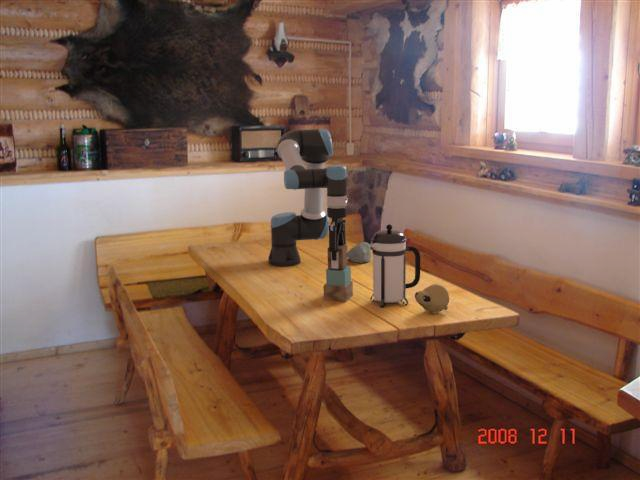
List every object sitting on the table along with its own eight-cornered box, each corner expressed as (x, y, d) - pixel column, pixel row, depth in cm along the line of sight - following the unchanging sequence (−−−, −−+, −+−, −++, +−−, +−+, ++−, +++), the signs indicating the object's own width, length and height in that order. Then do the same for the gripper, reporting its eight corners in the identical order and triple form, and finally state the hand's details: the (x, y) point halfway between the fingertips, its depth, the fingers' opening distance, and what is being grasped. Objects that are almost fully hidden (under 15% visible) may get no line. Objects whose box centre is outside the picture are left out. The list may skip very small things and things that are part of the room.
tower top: (326, 285, 264) (326, 269, 263) (332, 279, 271) (332, 265, 270) (344, 286, 262) (344, 271, 260) (350, 281, 269) (350, 266, 267)
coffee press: (401, 311, 250) (401, 230, 243) (362, 304, 258) (361, 226, 252) (420, 298, 264) (421, 221, 258) (383, 293, 272) (383, 218, 266)
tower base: (323, 300, 265) (323, 285, 263) (330, 294, 273) (330, 279, 272) (346, 302, 262) (346, 287, 261) (352, 295, 270) (352, 281, 269)
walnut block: (327, 268, 263) (327, 248, 261) (332, 264, 268) (332, 244, 267) (342, 269, 261) (342, 248, 259) (347, 265, 266) (347, 245, 265)
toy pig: (410, 311, 249) (410, 283, 247) (438, 306, 254) (438, 278, 252) (425, 319, 240) (425, 289, 238) (454, 314, 245) (454, 285, 243)
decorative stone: (377, 263, 320) (376, 243, 324) (358, 257, 315) (358, 238, 319) (360, 272, 330) (360, 252, 334) (342, 266, 324) (341, 247, 329)
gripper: (338, 211, 250) (339, 272, 254) (353, 203, 267) (354, 261, 272) (319, 210, 252) (320, 271, 257) (335, 202, 270) (336, 259, 274)
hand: (337, 266), depth 264 cm, fingers closed on walnut block, 6 cm apart
